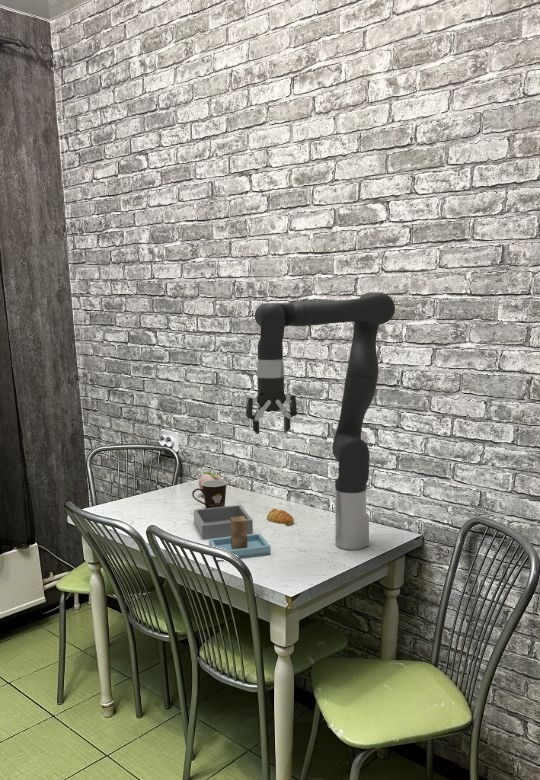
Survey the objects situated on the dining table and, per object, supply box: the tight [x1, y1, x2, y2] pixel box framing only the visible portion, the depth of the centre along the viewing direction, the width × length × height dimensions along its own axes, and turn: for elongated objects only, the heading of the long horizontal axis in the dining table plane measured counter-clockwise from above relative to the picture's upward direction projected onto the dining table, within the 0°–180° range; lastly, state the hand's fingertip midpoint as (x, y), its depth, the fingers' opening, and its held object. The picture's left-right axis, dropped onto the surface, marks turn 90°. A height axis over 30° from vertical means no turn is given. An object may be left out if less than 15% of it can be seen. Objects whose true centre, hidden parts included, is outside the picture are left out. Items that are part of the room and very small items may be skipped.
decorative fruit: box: [198, 470, 223, 489], centre depth 239 cm, size 9×8×10 cm
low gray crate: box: [193, 504, 254, 541], centre depth 203 cm, size 16×16×5 cm
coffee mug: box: [191, 479, 227, 509], centre depth 222 cm, size 12×9×10 cm
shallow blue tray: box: [208, 533, 271, 559], centre depth 186 cm, size 16×11×2 cm
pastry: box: [266, 508, 295, 527], centre depth 210 cm, size 9×7×4 cm
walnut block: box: [230, 516, 248, 550], centre depth 185 cm, size 4×4×9 cm
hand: (271, 432), depth 178 cm, fingers open, 8 cm apart
